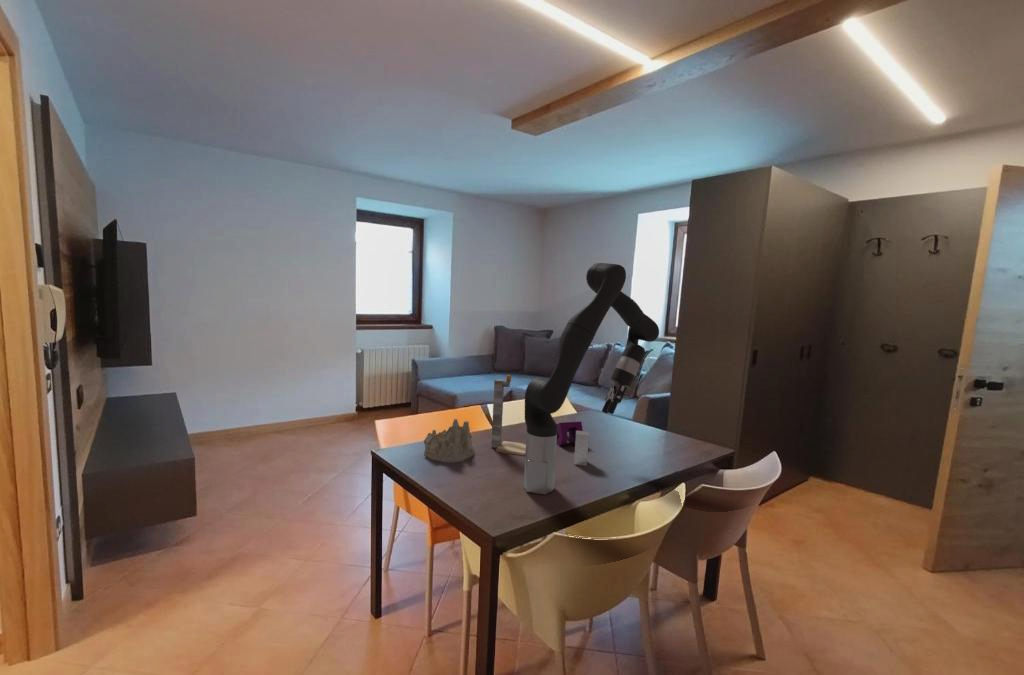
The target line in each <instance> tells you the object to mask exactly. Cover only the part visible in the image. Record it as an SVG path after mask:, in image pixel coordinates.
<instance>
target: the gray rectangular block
mask: <svg viewBox="0 0 1024 675" xmlns="http://www.w3.org/2000/svg"><path fill="white" fill-rule="evenodd" d="M589 438H590V431H584V430H583V431H576V440H575V446H574V457H573V458H574V460H573V465H575V466H583V467H587V466H588V455H589V454H588V452H589Z"/></svg>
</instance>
